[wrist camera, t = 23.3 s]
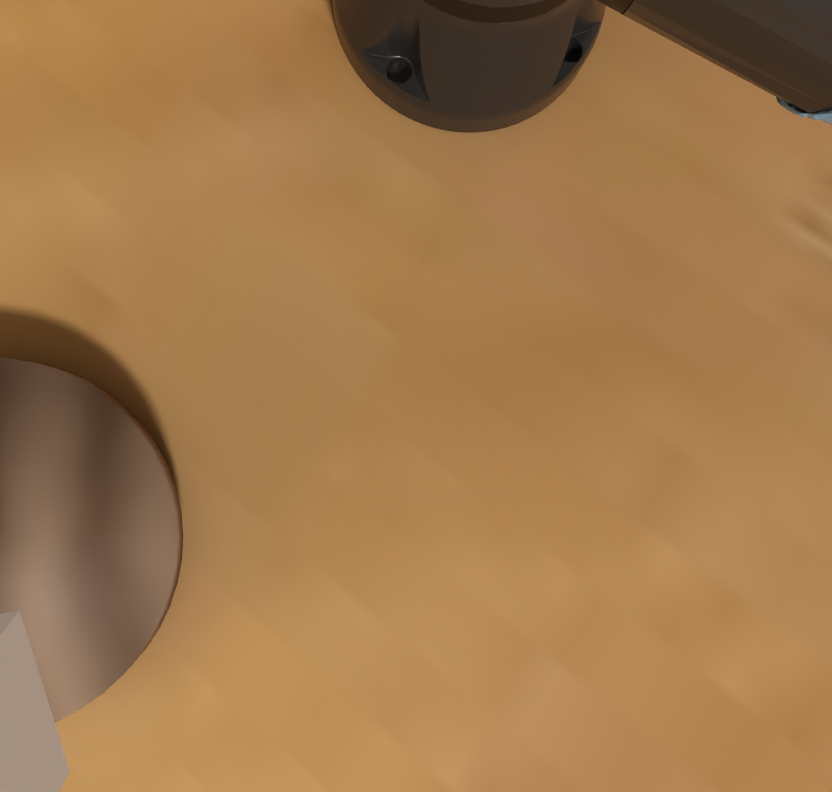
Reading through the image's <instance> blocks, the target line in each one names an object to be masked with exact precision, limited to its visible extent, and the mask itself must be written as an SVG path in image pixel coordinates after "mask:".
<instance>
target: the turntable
mask: <svg viewBox="0 0 832 792" xmlns="http://www.w3.org/2000/svg"><path fill="white" fill-rule="evenodd" d="M182 547H183V528H182V516H181V509H180V504H179V499H178V495H177V490H176V487H175V484H174V481H173V479H172V476H171V473H170V470H169V468H168V465H167V464H166V462H165V460H164V458H163V456H162V454H161V452H160V450H159V448H158V446H157V445H156V443H155V442H154V441H153V439H152V438H151V436H150V435H149V433H148V432H147V431H146V429H145V428H144V426H143V425H142V424H141V423H140V422H139V421H138V420H137V419H136V418H135V417H134V416H133V415H132V413H131V412H130V411H129V410H128V409H127V408H125V407H124V406H123V405H122V404H121V403H119V402H118V401H117V400H116V399H115V398H113V397H112V396H111V395H110V394H108V393H107V392H105V391H103V390H102V389H100V388H99V387H97V386H96V385H94V384H92V383H91V382H89V381H87V380H85V379H83V378H80V377H78V376H76V375H74V374H72V373H70V372H67V371H64V370H61V369H58V368H55V367H51V366H48V365H45V364H40V363H35V362H29V361H23V360H18V359H12V358H3V357H0V614H3V613H8V612H13V611H18V610H20V613H21V617H22V620H23V623H24V626H25V629H26V632H27V636H28V639H29V642H30V645H31V648H32V652H33V655H34V658H35V661H36V664H37V668H38V671H39V674H40V677H41V680H42V684H43V687H44V690H45V693H46V696H47V699H48V703H49V706H50V709H51V712H52V715H53V719H54V722H56V721H59V720H61V719H63V718H65V717H66V716H68V715H70V714H72V713H74V712H76V711H78V710H80V709H81V708H83V707H84V706H86V705H87V704H89V703H90V702H91V701H93V700H94V699H96V698H97V697H98V696H100V695H101V694H103V693H104V692H105V691H106V690H107V689H108V688H109V687H110V686H111V685H113V684H114V683H115V682H116V681H117V680H118V679H119V678H120V677H121V676H122V675H123V674H124V673H125V672H126V671H127V670H128V669H129V668H130V667H131V666H132V664H133V663H134V662H135V661H136V660H137V659H138V657H139V656H140V655H141V654H142V653H143V651H144V650H145V649H146V648H147V646H148V645H149V643H150V642H151V640H152V639H153V637H154V635H155V634H156V632H157V631H158V629H159V628H160V626H161V623H162V621H163V619H164V617H165V615H166V613H167V611H168V609H169V607H170V604H171V601H172V598H173V595H174V592H175V589H176V586H177V582H178V577H179V572H180V567H181V561H182Z"/></svg>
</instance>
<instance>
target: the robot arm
mask: <svg viewBox="0 0 832 792" xmlns="http://www.w3.org/2000/svg"><path fill="white" fill-rule="evenodd" d="M332 5H333V14H334V20H335V25H336V29H337V33H338V36H339V39H340V42H341V45H342V47H343V49H344V52H345V54H346V56H347V58H348V60H349V62H350V63H351V65H352V67H353V68H354V70H355V71H356V73H357V74H358V75H359V77H360V78H361V80H362V81H363V82H364V83H365V84H366V85H367V87H368V88H369V89H370V90H371V91H372V92H373V93H374V94H375V95H376V96H377V97H379V98H380V99H381V100H382V101H383V102H385V103H386V104H387V105H389V106H390V107H391V108H393V109H394V110H396V111H397V112H399V113H401V114H402V115H404V116H406V117H408V118H410V119H412V120H414V121H417V122H419V123H422V124H424V125H427V126H431V127H434V128H438V129H442V130H447V131H455V132H484V131H491V130H497V129H501V128H505V127H508V126H511V125H514V124H517V123H519V122H522V121H524V120H526V119H528V118H530V117H532V116H534V115H535V114H537V113H539V112H540V111H542V110H543V109H544V108H546V107H547V106H549V105H550V104H551V103H552V102H553V101H555V100H556V99H557V98H558V97H559V96H560V95H561V94H562V93H563V92H564V90H565V89H566V88H567V87H568V86H569V85H570V83H571V82H572V81H573V79H574V78H575V76H576V75H577V73H578V71H579V70H580V68H581V67H582V65H583V63H584V62H585V60H586V58H587V57H588V55H589V53H590V51H591V49H592V48H593V46H594V43H595V41H596V38H597V36H598V33H599V30H600V27H601V24H602V20H603V16H604V12H605V6H608V7H610V8H612V9H614V10H616V11H618V12H620V13H621V14H622V15H624V16H626V17H628V18H630V19H632V20H634V21H635V22H637V23H639V24H641V25H643V26H645V27H647V28H649V29H650V30H652V31H654V32H656V33H658V34H660V35H662V36H664V37H666V38H667V39H669V40H671V41H673V42H675V43H677V44H679V45H681V46H682V47H684V48H686V49H688V50H690V51H692V52H694V53H696V54H697V55H699V56H701V57H703V58H705V59H707V60H709V61H711V62H712V63H714V64H716V65H718V66H720V67H722V68H724V69H726V70H727V71H729V72H731V73H733V74H735V75H737V76H739V77H741V78H742V79H744V80H746V81H748V82H750V83H752V84H754V85H756V86H757V87H759V88H761V89H763V90H765V91H767V92H769V93H771V94H772V95H774V96H776V98H777V101H778V103H779V104H780V105H781V106H783V107H784V108H786V109H787V110H788V111H790V112H792V113H794V114H796V115H798V116H801V117H808V118H811V119H814V120H822V121H824V122H826V123H828V124H830V125H832V0H332ZM68 772H69V766H68V763H67V760H66V757H65V754H64V751H63V747H62V744H61V741H60V738H59V735H58V731H57V728H56V725H55V722H54V719H53V715H52V712H51V709H50V706H49V703H48V699H47V696H46V693H45V690H44V687H43V684H42V680H41V677H40V674H39V671H38V668H37V664H36V661H35V658H34V655H33V652H32V648H31V645H30V642H29V639H28V636H27V632H26V629H25V626H24V623H23V620H22V617H21V613H20V610H18V611H13V612H8V613H3V614H0V792H60V790H61V788H62V786H63V783H64V781H65V779H66V777H67V775H68Z"/></svg>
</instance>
